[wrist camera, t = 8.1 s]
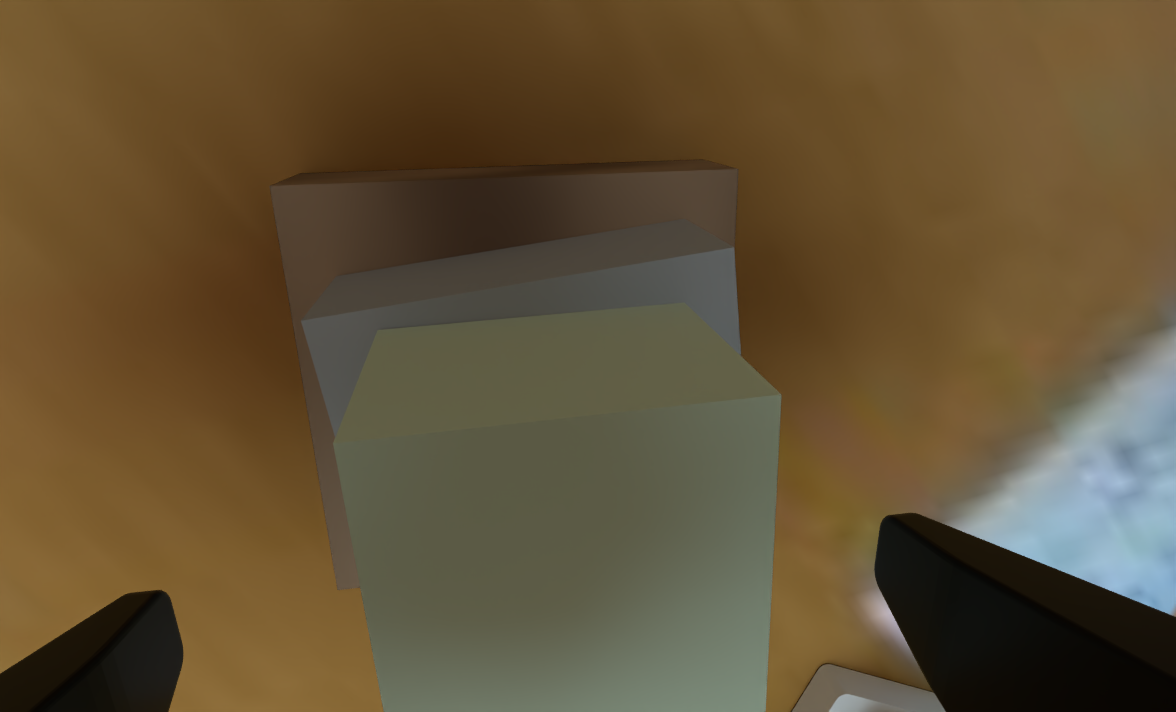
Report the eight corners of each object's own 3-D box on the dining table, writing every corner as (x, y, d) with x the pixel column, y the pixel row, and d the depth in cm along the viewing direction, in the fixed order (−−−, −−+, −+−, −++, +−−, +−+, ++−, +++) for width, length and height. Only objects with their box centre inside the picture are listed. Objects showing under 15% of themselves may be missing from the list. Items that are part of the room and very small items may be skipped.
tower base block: (696, 157, 17) (738, 169, 14) (686, 487, 20) (719, 550, 17) (306, 170, 16) (269, 186, 13) (358, 518, 19) (337, 590, 16)
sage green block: (684, 302, 12) (781, 394, 8) (684, 554, 14) (764, 724, 10) (377, 330, 11) (332, 443, 8) (418, 590, 13) (398, 786, 9)
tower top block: (684, 219, 15) (734, 247, 12) (710, 511, 17) (755, 592, 14) (336, 276, 14) (301, 321, 11) (415, 571, 16) (402, 668, 14)
